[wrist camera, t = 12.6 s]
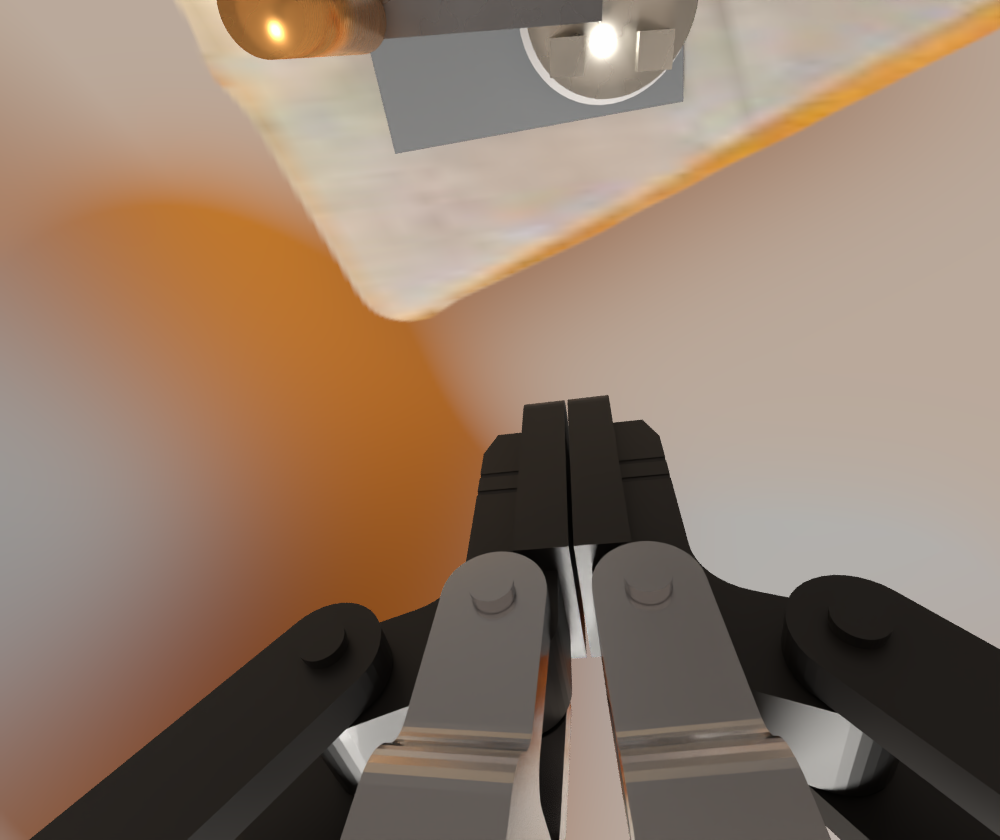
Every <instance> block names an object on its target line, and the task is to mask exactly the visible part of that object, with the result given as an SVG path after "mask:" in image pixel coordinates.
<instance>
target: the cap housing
mask: <svg viewBox="0 0 1000 840" xmlns="http://www.w3.org/2000/svg"><path fill="white" fill-rule="evenodd" d="M371 57H372V61H373V65H374V69H375V73H376V77H377V81H378V85H379V89H380V93H381V98H382V102H383V106H384V110H385V114H386V118H387V122H388V126H389V130H390V134H391V138H392V142H393V146H394V150H395V154H397V153H402V152H408V151H413V150H419V149H424V148H430V147H435V146H441V145H446V144H452V143H457V142H463V141H468V140H474V139H479V138H485V137H490V136H496V135H501V134H507V133H512V132H518V131H523V130H529V129H534V128H540V127H545V126H551V125H556V124H562V123H567V122H573V121H578V120H584V119H589V118H595V117H600V116H606V115H611V114H617V113H622V112H628V111H633V110H639V109H644V108H650V107H655V106H661V105H666V104H672V103H677V102H683V46H682V48H681V49H680V51H679V52H678V54H677V56H676V57H675V58H674V60H673V63H672V69H671V70H664V71H663V72H662V73H661V74H660V75H659V76H658V77H657V78H656V79H654V80H653V81H652V82H651V83H649V84H648V85H646V86H645V87H643V88H641V89H640V90H638V91H635V92H633V93H631V94H629V95H625V96H622V97H618V98H612V99H594V98H587V97H584V96H581V95H578V94H575V93H573V92H571V91H569V90H567V89H566V88H564V87H563V86H562V85H560V84H559V83H558V82H557V81H555V80H554V79H553V78H550V75H549V73H548V72H547V71H546V70H545V68H544V67H543V66H542V64H541V62H540V61H539V59H538V58H537V55H536V53H535V51H534V49H533V47H532V44H531V41H530V37H529V34H528V29H527V28H519V29H507V30H495V31H482V32H470V33H457V34H445V35H432V36H420V37H407V38H395V39H384V40H383V42H382V43H381V45H380V46H379V47H378V48H377V49H376V50H375V51H373V52H371Z"/></svg>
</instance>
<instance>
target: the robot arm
mask: <svg viewBox="0 0 1000 840" xmlns="http://www.w3.org/2000/svg"><path fill="white" fill-rule="evenodd" d="M523 410H524V411H523V422H522V433H515V434H505V435H498V436H497V438H496V439H495V440H494V442H493V443H492V444H491V446H490V447H489V448H488V450H487V451H486V452H485V453H484V456H483V463H482V469H481V478H480V481H479V487H478V496H477V499H476V505H475V511H474V517H473V523H472V529H471V535H470V541H469V548H468V554H467V559H466V562H465V563H464V564H462V565H461V566H460V567H459V568H457V569H456V570H455V571H454V572H453V574H452V575H451V576H450V577H449V578H448V580H447V582H446V583H445V585H444V587H443V590H442V593H441V596H440V598H439V599H437V600H436V601H434V602H432V603H431V604H429V605H427V606H425V607H422V608H420V609H417V610H415V611H412V612H409V613H406V614H403V615H400V616H398V617H394V618H391V619H389V620H386V621H383V622H380V623H379V621H378V619H377V618H376V616H375V615H374V613H373V612H372V611H371V610H369V609H367V608H366V607H364V606H362V605H359V604H354V603H339V604H333V605H329V606H326V607H323V608H321V609H318V610H316V611H314V612H312V613H310V614H309V615H307V616H305V617H304V618H303V619H301V620H300V621H298V622H297V623H296V624H295V625H293V626H292V627H291V628H290V629H289V630H287V631H286V632H285V633H284V634H282V635H281V636H280V637H279V638H278V639H276V640H275V641H274V642H273V643H271V644H270V645H269V646H268V647H267V648H265V649H264V650H263V651H261V652H260V653H259V654H258V655H256V656H255V657H254V658H253V659H252V660H250V661H249V662H248V663H247V664H245V665H244V666H243V667H242V668H240V669H239V670H238V671H237V672H236V673H234V674H233V675H232V676H231V677H229V678H228V679H227V680H226V681H224V682H223V683H222V684H221V685H220V686H218V687H217V688H216V689H215V690H213V691H212V692H211V693H210V694H209V695H207V696H206V697H205V698H203V699H202V700H201V701H200V702H199V703H197V704H196V705H195V706H194V707H193V708H191V709H190V710H189V711H187V712H186V713H185V714H184V715H183V716H181V717H180V718H179V719H178V720H176V721H175V722H174V723H173V724H171V725H170V726H169V727H168V728H167V729H165V730H164V731H163V732H162V733H160V734H159V735H158V736H157V737H155V738H154V739H153V740H152V741H151V742H149V743H148V744H147V745H146V746H144V747H143V748H142V749H141V750H139V751H138V752H137V753H136V754H135V755H133V756H132V757H131V758H130V759H128V760H127V761H126V762H125V763H123V764H122V765H121V766H120V767H118V768H117V769H116V770H115V771H114V772H112V773H111V774H110V775H109V776H107V777H106V778H105V779H104V780H102V781H101V782H100V783H99V784H97V785H96V786H95V787H94V788H93V789H91V790H90V791H89V792H88V793H86V794H85V795H84V796H83V797H82V798H80V799H79V800H78V801H77V802H75V803H74V804H73V805H72V806H70V807H69V808H68V809H67V810H65V811H64V812H63V813H62V814H61V815H59V816H58V817H57V818H56V819H54V820H53V821H52V822H51V823H49V824H48V825H47V826H46V827H45V828H43V829H42V830H41V831H40V832H38V833H37V834H36V835H35V836H34V837H32V838H31V839H30V840H566V822H567V820H566V819H567V801H568V779H569V760H570V758H569V757H570V738H571V717H572V709H571V702H570V700H571V696H572V675H571V658H586V657H587V655H586V639H585V638H586V637H585V621H586V627H587V634H588V640H589V646H590V652H591V657H602V665H603V671H604V678H605V685H606V692H607V700H608V707H609V714H610V720H611V726H612V733H613V738H614V744H615V751H616V757H617V763H618V770H619V776H620V781H621V788H622V794H623V800H624V806H625V813H626V819H627V825H628V831H629V837H630V840H831V838H830V836H829V833H828V831H827V829H826V826H827V827H828V828H829V829H830V830H831V831H832V832H833V833H834V834H835V835H837V837H838V838H840V839H841V840H1000V649H998V648H996V647H995V646H993V645H991V644H989V643H987V642H986V641H984V640H982V639H980V638H978V637H977V636H975V635H973V634H971V633H969V632H968V631H966V630H964V629H962V628H961V627H959V626H957V625H955V624H953V623H952V622H949V621H948V620H946V619H944V618H942V617H941V616H939V615H937V614H935V613H934V612H932V611H930V610H928V609H926V608H925V607H923V606H921V605H919V604H917V603H916V602H914V601H912V600H910V599H908V598H907V597H905V596H903V595H901V594H899V593H898V592H896V591H894V590H892V589H890V588H888V587H886V586H884V585H882V584H879V583H876V582H873V581H871V580H867V579H863V578H859V577H853V576H846V575H830V576H821V577H818V578H814V579H811V580H809V581H806V582H804V583H803V584H801V585H800V586H798V587H797V588H796V589H795V590H794V591H793V592H792V593H791V595H790V597H789V598H788V597H783V596H777V595H773V594H768V593H762V592H758V591H753V590H748V589H745V588H741V587H738V586H735V585H732V584H730V583H727V582H725V581H723V580H721V579H719V578H717V577H716V576H714V575H713V574H711V573H710V572H709V571H708V570H706V569H705V568H704V567H703V566H702V565H701V564H700V563H699V562H698V561H697V559H696V558H695V556H694V555H693V553H692V551H691V549H690V546H689V544H688V540H687V536H686V533H685V529H684V525H683V522H682V518H681V514H680V511H679V507H678V503H677V499H676V496H675V492H674V489H673V484H672V481H671V478H670V474H669V470H668V466H667V462H666V460H665V455H664V451H663V448H662V444H661V440H660V436H659V435H658V434H657V433H656V432H655V431H654V430H652V428H650V427H649V426H648V425H647V424H646V423H645V422H644V421H643V420H635V421H626V422H616V423H613V421H612V415H611V408H610V402H609V396H608V395H605V396H596V397H587V398H579V399H571V400H568V419H567V412H566V405H565V401H564V400H563V401H555V402H545V403H536V404H528V405H524V409H523ZM568 421H569V422H568ZM568 423H569V426H568ZM584 615H585V619H584Z"/></svg>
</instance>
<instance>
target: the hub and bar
mask: <svg viewBox="0 0 1000 840" xmlns="http://www.w3.org/2000/svg"><path fill="white" fill-rule="evenodd" d="M697 4H698V0H217V5H218V10H219V13H220V16H221V19H222V21H223V24H224V26H225V28H226V29H227V31H228V33H229V34H230V36H231V37H232V38H233V39H234V41H235V42H236V43H237V44H238V45H239V46H240V47H241V48H243V49H244V50H245V51H247V52H248V53H250V54H251V55H254V56H256V57H259V58H262V59H267V60H275V59H292V58H309V57H327V56H344V55H361V54H368V53H371V52H373V51H375V50H376V49H377V48H378V47H379V46H380V45H381V43H382V42H383V40H384V39H395V38H407V37H420V36H432V35H445V34H457V33H470V32H482V31H495V30H507V29H519V28H527V29H528V34H529V37H530V41H531V44H532V47H533V49H534V51H535V53H536V55H537V58H538V59H539V61H540V62H541V64H542V66H543V67H544V68H545V70H546V71H547V72H548V73H549V75H550V78H553V79H554V80H555V81H557V82H558V83H559V84H560V85H562V86H563V87H564V88H566V89H567V90H569V91H571V92H573V93H575V94H578V95H581V96H584V97H587V98H594V99H612V98H618V97H622V96H625V95H629V94H631V93H633V92H635V91H638V90H640V89H641V88H643V87H645V86H646V85H648V84H649V83H651V82H652V81H653V80H654V79H656V78H657V77H658V76H659V75H660V74H661V73H662V72H663V71H664V70H671V69H672V63H673V60H674V58H675V57H676V56H677V54H678V52H679V51H680V49H681V48H682V46H683V44H684V42H685V40H686V38H687V36H688V34H689V31H690V29H691V26H692V23H693V20H694V17H695V13H696V9H697Z"/></svg>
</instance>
